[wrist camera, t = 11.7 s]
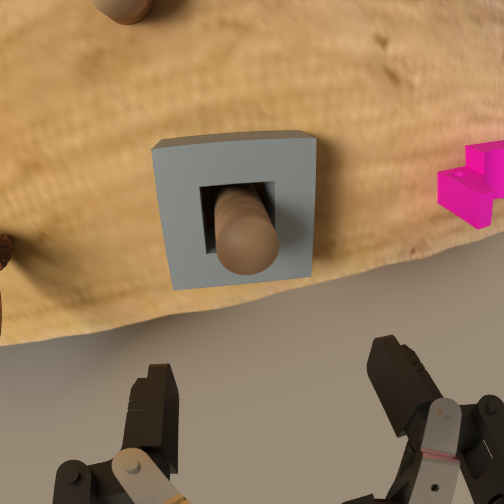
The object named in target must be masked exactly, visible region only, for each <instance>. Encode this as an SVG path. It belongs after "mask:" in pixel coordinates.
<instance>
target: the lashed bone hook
mask: <svg viewBox="0 0 504 504" xmlns="http://www.w3.org/2000/svg"><path fill="white" fill-rule="evenodd" d="M12 251H13V244H12V241H11V239H10V238H9V236H7V235H0V271H1V270H2V269H3V268H4V267H6V265H7V263H8V261H9V260H10V259H11V252H12ZM1 323H2V306H1V293H0V335H1Z"/></svg>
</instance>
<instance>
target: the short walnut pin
mask: <svg viewBox="0 0 504 504" xmlns="http://www.w3.org/2000/svg"><path fill="white" fill-rule="evenodd" d="M153 2H154V0H93V3H94V5H95V7H96V8H97V9H98V10H99V11H101V12H102V13H104V14H105V15H107V16H108V17H109V18H111V19H112V20H114V21H115V22H117V23H119V24H123V25H129V24H134V23H137V22H139V21H141V20H142V19H144V18H145V17H146V16H147V15H148V14H149V12H150V11H151V9H152V7H153Z"/></svg>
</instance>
